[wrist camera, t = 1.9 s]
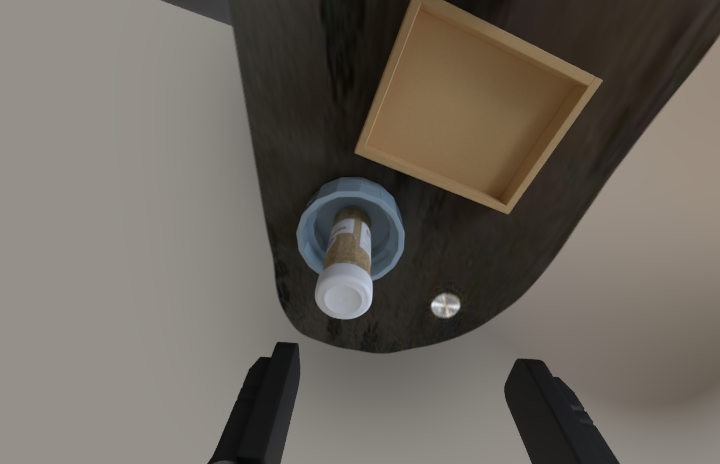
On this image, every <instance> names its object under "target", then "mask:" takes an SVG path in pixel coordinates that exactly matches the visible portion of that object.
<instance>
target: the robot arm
mask: <svg viewBox="0 0 720 464" xmlns="http://www.w3.org/2000/svg"><path fill="white" fill-rule="evenodd" d="M299 380H300V359H299V346H298V343H287V342H277V344H276V346H275V348H274V351H273V354H272V357H271V358H270V357H260V358H259V359H258V360H257V361H256V362H255V364H254V365H253V366H252V367H251V368H250V369H249V371H248V374H247V376H246V378H245V381H244V383H243V387H242V388H241V390H240V393H239V395H238V399H237V401H236V402H235V405H234V407H233V410H232V412H231V414H230V417H229V419H228V422H227V424H226V426H225V429H224V431H223V434H222V436H221V439H220V441H219V443H218V446H217V448H216V450H215V452H214V454H213V456H212V458H211V459H210V461H209V462H208V463H207V464H280V462H281V459H282V454H283V450H284V446H285V442H286V437H287V432H288V429H289V425H290V420H291V416H292V412H293V408H294V403H295V399H296V395H297V391H298V386H299ZM504 389H505V390H504V392H505V398H506V402H507V404H508V407H509V409H510V411H511V414H512V416H513V419H514V421H515V423H516V426H517V428H518V431H519V433H520V436H521V438H522V440H523V443H524V445H525V448H526V450H527V452H528V455H529V457H530V460H531V462H532V464H619V462H618V461H617V459H616V457H615V456H614V454H613V453H612V451H611V450H610V448H609V446H608V445H607V443H606V442H605V440H604V438H603V437H602V435H601V434H600V432H599V431H598V429H597V428H596V426H594V425H593V421H592V420H591V419H590V417H589V415H588V414H587V412H585V411H584V407H583V406H582V404H581V403H580V401H579V399H578V398H577V396H576V395H575V393H574V392H573V391H572V390H571V389H570V388H569V387H568V386H567V385H566V384H565V383H564V382H563V381H562V380H561V379H560V378H559V377H553V376H552V374H551V373H550V371H549V369H548V368H547V366H546V364H545V363H544V362H543V361H541V360H535V359H534V360H533V359H517V360H516V362H515V363H514V366H513V368H512V370H511V372H510V374H509V377H508V379H507V381H506V383H505V387H504Z"/></svg>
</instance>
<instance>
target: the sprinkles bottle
mask: <svg viewBox="0 0 720 464" xmlns="http://www.w3.org/2000/svg"><path fill="white" fill-rule="evenodd" d="M370 229H371V219H370V216H369V215H368V213H367V212H366V211H365V210H363V209H361V208H360V207H356V206H350V207H345V208H343V209H341V210H340V211H339V212H338V213H337V214H336V215H335V217H334V222H333V229H332V232H331V235H330V240H329V243H328V248H327V252H326V258H325V262H324V267H323V271H322V273H321V274H320V276H319V278H318V282H317V285H316V290H315V300H316V303H317V305H318V306H319V308H320V309H321V310H322V311H323V312H324V313H326V314H327V315H329V316H331V317H334V318H338V319H352V318H356V317H358V316H360V315H362V314H363V313H365V312H366V311H367V310H368V308H369V307H370V305H371V302H372V280H371V277H370V267H371V233H370Z"/></svg>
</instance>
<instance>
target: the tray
mask: <svg viewBox="0 0 720 464" xmlns="http://www.w3.org/2000/svg"><path fill="white" fill-rule="evenodd" d="M602 81H603V80H601V79H599V78H597V77H595V76H593V75H591V74H589V73H587V72H585V71H583V70H581V69H579V68H577V67H575V66H573V65H571V64H569V63H567V62H565V61H563V60H561V59H559V58H557V57H555V56H553V55H551V54H549V53H547V52H546V51H544V50H542V49H540V48H538V47H536V46H534V45H532V44H530V43H528V42H526V41H524V40H522V39H520V38H518V37H516V36H514V35H512V34H510V33H508V32H506V31H504V30H502V29H500V28H498V27H496V26H494V25H492V24H490V23H488V22H486V21H484V20H482V19H480V18H478V17H476V16H474V15H472V14H470V13H468V12H466V11H464V10H462V9H460V8H458V7H456V6H454V5H452V4H450V3H448V2H446V1H444V0H410V2H409V5H408V8H407V10H406V13H405V16H404V19H403V21H402V24H401V27H400V29H399V32H398V35H397V37H396V40H395V43H394V45H393V48H392V51H391V53H390V56H389V59H388V61H387V64H386V67H385V69H384V72H383V75H382V77H381V80H380V83H379V86H378V88H377V91H376V94H375V96H374V99H373V102H372V104H371V107H370V110H369V112H368V115H367V118H366V120H365V123H364V126H363V128H362V131H361V134H360V136H359V139H358V142H357V144H356V147H355V152H354V153H355V154H358V155H360V156H363V157H365V158H368V159H370V160H373V161H375V162H378V163H380V164H383V165H385V166H388V167H390V168H393V169H395V170H398V171H400V172H403V173H405V174H408V175H410V176H413V177H415V178H418V179H420V180H423V181H425V182H428V183H430V184H433V185H435V186H438V187H440V188H443V189H445V190H448V191H450V192H453V193H455V194H458V195H461V196H463V197H466V198H468V199H471V200H473V201H476V202H478V203H481V204H483V205H486V206H488V207H491V208H493V209H496V210H498V211H501V212H503V213H506V214H509V213H510V211H511V210H512V208H513V207H514V206H515V204H516V203H517V201H518V200H519V199H520V197H521V196H522V194H523V193H524V191H525V190H526V189H527V187H528V186H529V184H530V183H531V181H532V180H533V179H534V177H535V176H536V174H537V173H538V172H539V170H540V169H541V167H542V166H543V164H544V163H545V162H546V160H547V159H548V157H549V156H550V155H551V153H552V152H553V150H554V149H555V147H556V146H557V145H558V143H559V142H560V140H561V139H562V138H563V136H564V135H565V133H566V132H567V130H568V129H569V128H570V126H571V125H572V123H573V122H574V121H575V119H576V118H577V116H578V115H579V113H580V112H581V111H582V109H583V108H584V106H585V105H586V104H587V102H588V101H589V99H590V98H591V96H592V95H593V94H594V92H595V91H596V89H597V88H598V87H599V85H600V84H601V82H602Z"/></svg>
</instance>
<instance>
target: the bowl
mask: <svg viewBox="0 0 720 464" xmlns="http://www.w3.org/2000/svg"><path fill="white" fill-rule="evenodd" d="M350 206H356V207H360V208H361V209H363V210H365V211H366V212H367V213H368V215H369V216H370V219H371V229H370V233H371V267H370V277H371V280H372V281H373V280H376V279H379V278H381V277H382V276H384V275H385V274H386V273H387V272H389V271H390V270H391V269H392V268H394V266H395V265H396V263H397V262H398V260H399V258H400V256H401V254H402V252H403V250H404V228H403V223H402V218H401V214H400V211H399V209H398V206H397V204H396V202H395V199H394V197H393V196H392V195H391V194H390V193H388V192H387V191H386V190H385V189H384V188H383V187H382V186H381V185H380V184H378V183H375V182H372V181H370V180H367V179H365V178H362V177H341V178H338V179H336V180H333V181H331V182H329V183H326V184H324V185H322V186H321V187H320V188H319V189H318V191H317V192H316V193H315V194H314V195H313V196H312V197H311V198H310V200H309V202H308V204H307V206H306V208H305V210H304V212H303V214H302V216H301V219H300V222H299V226H298V229H297V233H296V234H297V241H298V248H299V252H300V253H301V255H302V257H303V258H304V260H305V261H306V263H307V264H308V266H309V267H310V268H311V269H313V270H314V271H315V272H317V273H318V274H319V275H320V274H321V273H322V271H323V267H324V262H325V258H326V252H327V248H328V243H329V240H330V235H331V232H332V229H333V222H334V217H335V215H336V214H337V213H338V212H339V211H340V210H341V209H343V208H345V207H350Z"/></svg>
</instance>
